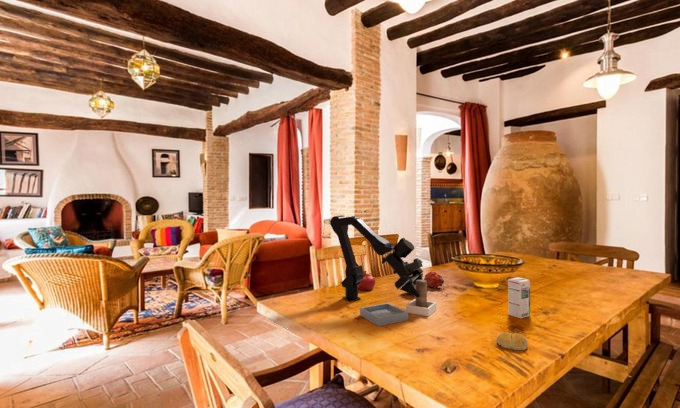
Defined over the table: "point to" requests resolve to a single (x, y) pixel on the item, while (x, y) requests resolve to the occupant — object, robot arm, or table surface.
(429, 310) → the holder
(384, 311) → the tray
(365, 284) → the pomegranate
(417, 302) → the pepper mill
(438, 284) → the dragon fruit
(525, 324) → the table surface
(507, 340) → the bread roll
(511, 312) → the syrup box
